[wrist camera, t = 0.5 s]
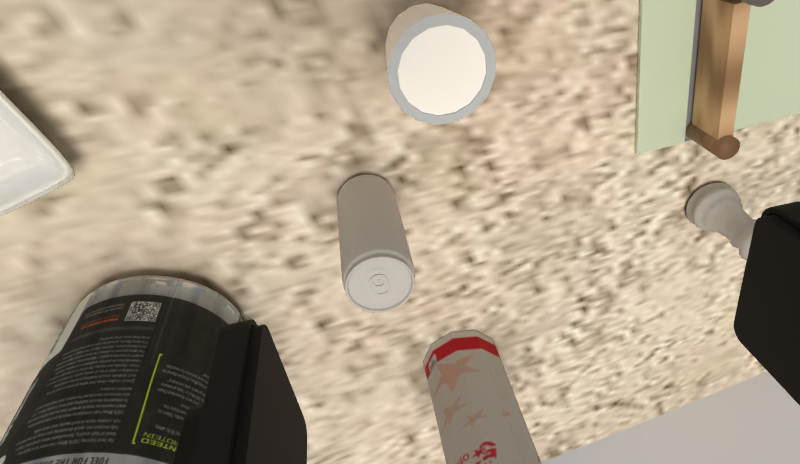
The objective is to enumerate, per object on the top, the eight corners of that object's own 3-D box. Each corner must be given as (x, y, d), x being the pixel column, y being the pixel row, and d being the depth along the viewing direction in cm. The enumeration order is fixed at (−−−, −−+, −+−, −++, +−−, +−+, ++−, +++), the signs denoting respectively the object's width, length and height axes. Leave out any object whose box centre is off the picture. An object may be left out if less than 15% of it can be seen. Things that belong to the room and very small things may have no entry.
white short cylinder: (489, 46, 41) (518, 73, 35) (419, 109, 43) (435, 146, 37) (429, -30, 38) (450, -13, 32) (356, 43, 39) (363, 71, 34)
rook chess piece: (674, 219, 52) (728, 270, 45) (698, 176, 49) (758, 223, 43) (715, 225, 53) (773, 275, 46) (739, 183, 50) (805, 230, 44)
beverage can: (385, 164, 45) (406, 246, 35) (401, 213, 47) (424, 302, 37) (328, 181, 45) (332, 267, 35) (346, 229, 47) (355, 322, 37)
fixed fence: (698, -36, 39) (738, -27, 36) (723, -42, 39) (765, -34, 36) (683, 139, 47) (715, 162, 43) (704, 134, 47) (738, 156, 43)
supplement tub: (30, 313, 48) (-205, 672, 26) (185, 236, 46) (69, 556, 24) (151, 416, 56) (50, 753, 35) (286, 355, 54) (269, 671, 32)
